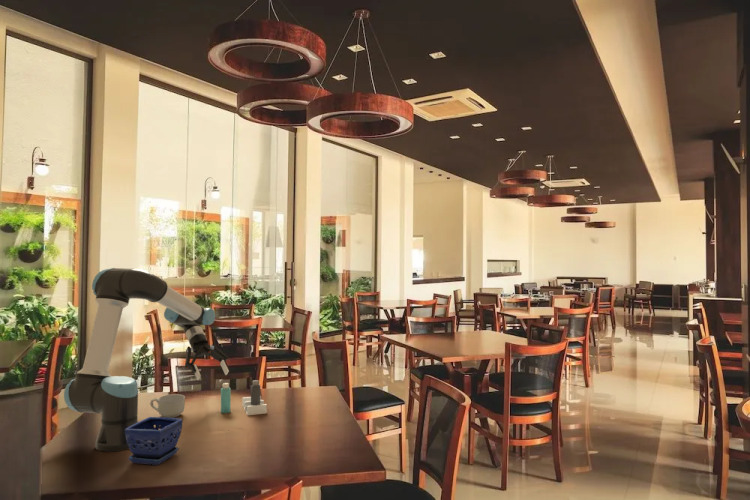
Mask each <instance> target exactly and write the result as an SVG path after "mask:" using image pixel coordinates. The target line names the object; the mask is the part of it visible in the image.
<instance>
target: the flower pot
mask: <svg viewBox="0 0 750 500" xmlns="http://www.w3.org/2000/svg"><path fill="white" fill-rule="evenodd" d="M183 423H184V422H183V419H182V418H177V417H174V418H164V417H163V416H148V417H147V418H144V419H142V420H140V421H138V423H136V424H134V425H132V426H130V427H128V428H126V429H125V436H126V441H127V444H128V446H129V449H128V450H130V452H131V454H132V455H130V456H128V458H127V459H128V461H130V462H131V463H134V464H142V465H151V464H152V466H158V465H160V464H162V463H164V462H166V461H167V460H168V459H170V458H172V457H173V456H174V455H175V454H177V452H178V451H179V448H180V447H176V446H177V445H178V442H179V439H180V437H181V434H182V429H183ZM137 440H138V441H137Z"/></svg>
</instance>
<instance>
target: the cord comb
mask: <svg viewBox="0 0 750 500" xmlns="http://www.w3.org/2000/svg"><path fill="white" fill-rule="evenodd" d="M264 401H265V400H264V399H262V396H261V395H260V405H251V396H246V397H245V396H243V397H242V401H241V402H242V404H241V405H242V407H243V409H244V412H245V413H246V415H247V416H254V415H255V416H256V415H262V414H263V415H264V414H267V413H268V412H267V411H268V410H267V409H268V406H267V405H268V404H267V403H265V402H264Z"/></svg>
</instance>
